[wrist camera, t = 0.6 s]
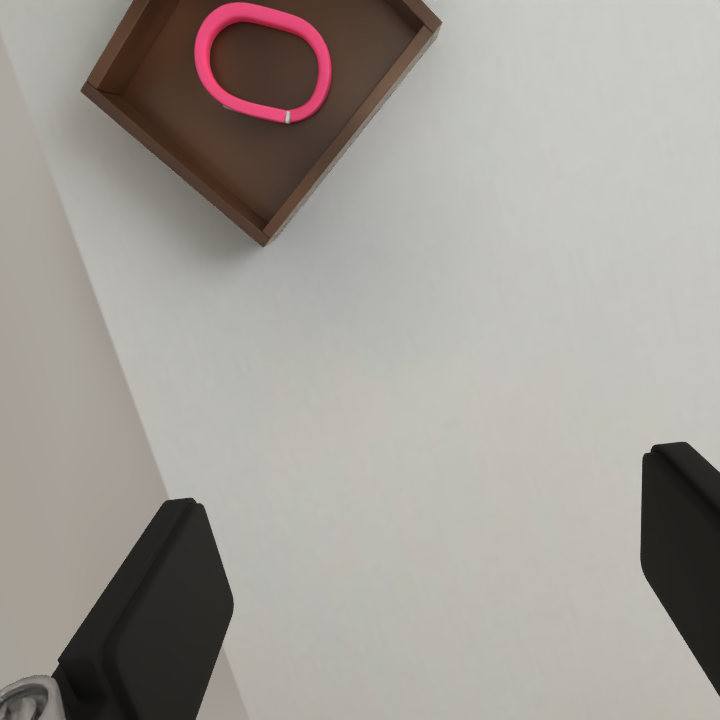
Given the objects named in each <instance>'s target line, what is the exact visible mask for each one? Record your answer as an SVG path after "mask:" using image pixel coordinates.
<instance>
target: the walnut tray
mask: <svg viewBox="0 0 720 720" xmlns="http://www.w3.org/2000/svg"><path fill="white" fill-rule="evenodd" d="M235 2H245V3H250V4H255V5H259V6H263V7H268V8H271V9H275V10H278V11H282V12H285V13H288V14H291V15H294V16H297V17H300V18H302V19H304V20H305V21H307V22H308V23H310V24H311V25H312V26H313V27H314V28H315V29H316V30H317V31H318V32H319V34H320V35H321V36H322V38H323V40H324V41H325V43H326V45H327V47H328V50H329V53H330V57H331V64H332V77H331V84H330V88H329V92H328V94H327V97H326V99H325V101H324V103H323V105H322V106H321V108H320V109H319V110H318V111H317V112H316V113H315V114H314V115H312V116H311V117H309V118H308V119H306V120H303V121H300V122H295V123H290V124H285V123H276V122H270V121H266V120H261V119H258V118H254V117H251V116H248V115H245V114H242V113H238V112H235V111H232V110H229V109H226V108H224V107H223V104H221V103H220V102H218V101H217V100H216V99H215V98H214V97H213V96H211V94H210V93H209V92H208V91H207V90H206V89H205V87H204V86H203V84H202V82H201V80H200V78H199V75H198V73H197V69H196V65H195V58H194V46H195V40H196V36H197V33H198V31H199V28H200V26H201V24H202V23H203V21H204V20H205V18H206V17H207V16H208V15H209V14H210V13H211V12H212V11H214V10H215V9H217V8H218V7H220V6H222V5H225V4H229V3H235ZM441 24H442V21H441V20H440V19H439V18H438V17H437V16H436V15H435V14H434V13H433V12H432V11H431V10H430V9H429V8H428V7H427V6H426V5H425V3H424V2H423V1H422V0H133V2H132V4H131V6H130V7H129V9H128V11H127V12H126V14H125V16H124V18H123V19H122V21H121V23H120V24H119V26H118V28H117V29H116V31H115V33H114V35H113V36H112V38H111V40H110V41H109V43H108V45H107V46H106V48H105V50H104V52H103V53H102V55H101V57H100V58H99V60H98V62H97V63H96V65H95V67H94V69H93V70H92V72H91V74H90V75H89V77H88V79H87V81H86V82H85V84H84V86H83V87H82V89H81V92H82V93H83V94H84V95H85V96H87V97H88V98H89V99H90V100H91V101H92V102H94V103H95V104H96V105H97V106H98V107H99V108H101V109H102V110H103V111H104V112H105V113H106V114H108V115H109V116H110V117H111V118H112V119H113V120H115V121H116V122H117V123H118V124H119V125H121V126H122V127H123V128H124V129H125V130H126V131H128V132H129V133H130V134H131V135H132V136H133V137H135V138H136V139H137V140H138V141H139V142H140V143H142V144H143V145H144V146H145V147H146V148H147V149H149V150H150V151H151V152H152V153H153V154H154V155H156V156H157V157H158V158H159V159H160V160H161V161H163V162H164V163H165V164H166V165H167V166H169V167H170V168H171V169H172V170H173V171H174V172H176V173H177V174H178V175H179V176H180V177H181V178H183V179H184V180H185V181H186V182H187V183H188V184H190V185H191V186H192V187H193V188H194V189H195V190H197V191H198V192H199V193H200V194H201V195H202V196H204V197H205V198H206V199H207V200H208V201H210V202H211V203H212V204H213V205H214V206H215V207H217V208H218V209H219V210H220V211H221V212H222V213H224V214H225V215H226V216H227V217H228V218H229V219H231V220H232V221H233V222H234V223H235V224H236V225H238V226H239V227H240V228H241V229H242V230H243V231H245V232H246V233H247V234H248V235H249V236H250V237H252V238H253V239H254V240H255V241H256V242H258V243H259V244H260V245H261V246H262V247H265V246H266V245H268V244H269V243H271V242H273V241H274V240H275V239H276V238H277V237H278V235H279V234H280V233H281V232H282V230H283V229H284V228H285V227H286V225H287V224H288V223H289V222H290V220H291V219H292V218H293V217H294V215H295V214H296V213H297V212H298V210H299V209H300V208H301V207H302V205H303V204H304V203H305V202H306V200H307V199H308V198H309V197H310V195H311V194H312V193H313V192H314V190H315V189H316V188H317V187H318V185H319V184H320V183H321V182H322V180H323V179H324V178H325V177H326V175H327V174H328V173H329V172H330V170H331V169H332V168H333V167H334V165H335V164H336V163H337V162H338V160H339V159H340V158H341V157H342V155H343V154H344V153H345V152H346V150H347V149H348V148H349V147H350V145H351V144H352V143H353V142H354V140H355V139H356V138H357V137H358V135H359V134H360V133H361V132H362V130H363V129H364V128H365V127H366V125H367V124H368V123H369V122H370V120H371V119H372V118H373V117H374V115H375V114H376V113H377V112H378V110H379V109H380V108H381V107H382V105H383V104H384V103H385V102H386V100H387V99H388V98H389V97H390V95H391V94H392V93H393V92H394V90H395V89H396V88H397V87H398V85H399V84H400V83H401V82H402V80H403V79H404V78H405V77H406V75H407V74H408V73H409V72H410V70H411V69H412V68H413V67H414V65H415V64H416V63H417V62H418V60H419V59H420V58H421V57H422V55H423V54H424V53H425V52H426V50H427V49H428V48H429V47H430V45H431V44H432V43H433V42H434V40H435V39H436V38H437V35H438V33H439V30H440V27H441ZM210 68H211V71H212V74H213V77H214V79H215V80H216V82H217V83H218V84H219V86H220V87H221V88H222V89H223V90H225V91H226V92H227V93H229V94H231V95H232V96H234V97H236V98H239V99H241V100H244V101H247V102H251V103H255V104H259V105H264V106H268V107H273V108H277V109H282V110H293V109H296V108H299V107H301V106H303V105H304V104H306V103H307V102H308V101H309V100H310V98H311V97H312V95H313V93H314V91H315V88H316V84H317V80H318V73H319V69H318V61H317V57H316V55H315V53H314V51H313V49H312V48H311V46H310V45H309V44H308V43H307V42H306V41H305V40H304V39H303V38H301V37H300V36H298V35H295V34H293V33H289V32H286V31H282V30H279V29H275V28H271V27H267V26H263V25H260V24H256V23H251V22H237V23H233V24H231V25H229V26H227V27H225V28H224V29H223V30H221V31H220V32H219V33H218V35H217V36H216V38H215V39H214V41H213V43H212V46H211V50H210Z"/></svg>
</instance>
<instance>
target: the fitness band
mask: <svg viewBox="0 0 720 720" xmlns="http://www.w3.org/2000/svg"><path fill="white" fill-rule="evenodd" d="M237 22H251V23H256V24H260V25H263V26H267V27H271V28H275V29H279V30H282V31H286V32H289V33H293V34H295V35H298V36H300V37H301V38H303V39H304V40H305V41H306V42H307V43H308V44H309V45H310V46H311V48H312V49H313V51H314V53H315V55H316V57H317V61H318V69H319V73H318V80H317V84H316V88H315V91H314V93H313V95H312V97H311V98H310V100H309V101H308V102H307V103H306V104H304V105H303V106H301V107H299V108H296V109H293V110H282V109H277V108H273V107H268V106H264V105H259V104H255V103H251V102H247V101H244V100H241V99H239V98H236V97H234V96H232V95H231V94H229V93H227V92H226V91H225V90H223V89H222V88H221V87H220V86H219V84H218V83H217V82H216V80H215V79H214V77H213V74H212V71H211V68H210V50H211V46H212V43H213V41H214V39H215V38H216V36H217V35H218V33H219V32H220V31H221V30H223V29H224V28H225V27H227V26H229V25H231V24H233V23H237ZM194 58H195V65H196V69H197V73H198V75H199V78H200V80H201V82H202V84H203V86H204V87H205V89H206V90H207V91H208V92H209V93H210V94H211V96H213V97H214V98H215V99H216V100H217V101H218V102H220V103H221V104H223V107H224V108H226V109H229V110H232V111H235V112H238V113H242V114H245V115H248V116H251V117H254V118H258V119H261V120H266V121H270V122H276V123H285V124H290V123H295V122H300V121H303V120H306V119H308V118H309V117H311V116H312V115H314V114H315V113H316V112H317V111H318V110H319V109H320V108H321V106H322V105H323V103H324V101H325V99H326V97H327V94H328V92H329V88H330V84H331V77H332V64H331V57H330V53H329V50H328V47H327V45H326V43H325V41H324V40H323V38H322V36H321V35H320V34H319V32H318V31H317V30H316V29H315V28H314V27H313V26H312V25H311V24H310V23H308V22H307V21H305V20H304V19H302V18H300V17H297V16H294V15H291V14H288V13H285V12H282V11H278V10H275V9H271V8H268V7H263V6H259V5H255V4H250V3H245V2H235V3H229V4H225V5H222V6H220V7H218V8H217V9H215V10H214V11H212V12H211V13H210V14H209V15H208V16H207V17H206V18H205V20H204V21H203V23H202V24H201V26H200V28H199V31H198V33H197V36H196V40H195V46H194Z"/></svg>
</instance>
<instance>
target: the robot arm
mask: <svg viewBox="0 0 720 720" xmlns="http://www.w3.org/2000/svg"><path fill="white" fill-rule="evenodd" d="M640 560H641V566H642V570H643V573H644V575H645V577H646V579H647V581H648V582H649V584H650V586H651V587H652V589H653V590H654V592H655V594H656V595H657V597H658V598H659V600H660V602H661V603H662V605H663V606H664V608H665V610H666V611H667V613H668V614H669V616H670V618H671V619H672V621H673V622H674V624H675V626H676V627H677V629H678V631H679V632H680V634H681V635H682V637H683V639H684V640H685V642H686V643H687V645H688V647H689V648H690V650H691V651H692V653H693V655H694V656H695V658H696V659H697V661H698V663H699V664H700V666H701V667H702V669H703V671H704V672H705V674H706V675H707V677H708V679H709V680H710V682H711V683H712V685H713V687H714V688H715V690H716V691H717V693H718V695H719V696H720V472H719V471H718V470H716V469H715V468H714V467H713V466H712V465H711V464H710V463H709V462H708V461H707V460H706V459H705V458H703V457H702V456H701V455H700V454H699V453H698V452H697V451H696V450H695V449H694V448H693V447H692V446H690V445H689V444H688V443H686V442H676V443H667V444H658V445H654V446H653V447H652V449H651V453H645V454H644V456H643V461H642V506H641V553H640ZM233 608H234V602H233V596H232V592H231V589H230V586H229V583H228V580H227V577H226V574H225V570H224V567H223V564H222V561H221V558H220V555H219V552H218V548H217V545H216V542H215V539H214V536H213V533H212V530H211V527H210V523H209V520H208V517H207V514H206V511H205V508H204V506H203V505H202V504H200V503H198V504H197V503H196V501H195V500H194V499H193V498H183V499H175V500H167V501H165V502H164V503H163V504H162V506H161V507H160V509H159V510H158V512H157V513H156V515H155V516H154V518H153V519H152V520H151V522H150V523H149V525H148V526H147V528H146V529H145V531H144V533H143V534H142V535H141V537H140V538H139V540H138V541H137V543H136V544H135V546H134V547H133V549H132V550H131V552H130V553H129V555H128V556H127V558H126V559H125V561H124V562H123V564H122V565H121V567H120V568H119V569H118V571H117V573H116V574H115V575H114V577H113V579H112V580H111V581H110V583H109V584H108V586H107V587H106V589H105V590H104V592H103V593H102V595H101V596H100V598H99V599H98V601H97V602H96V604H95V605H94V607H93V608H92V610H91V611H90V613H89V614H88V616H87V617H86V618H85V620H84V621H83V623H82V624H81V626H80V628H79V629H78V630H77V632H76V633H75V635H74V636H73V638H72V639H71V641H70V642H69V644H68V645H67V647H66V648H65V650H64V651H63V653H62V654H61V656H60V657H59V659H58V662H59V665H58V667H57V668H56V670H55V671H54V673H53V674H52V676H51V677H49V676H47V675H34V676H30V677H26V678H23V679H20V680H18V681H16V682H14V683H12V684H10V685H7V686H6V687H4V688H3V689H1V690H0V720H196V717H197V714H198V711H199V708H200V705H201V702H202V700H203V696H204V694H205V691H206V688H207V686H208V682H209V680H210V677H211V674H212V671H213V668H214V665H215V663H216V660H217V657H218V654H219V651H220V649H221V646H222V643H223V640H224V637H225V634H226V631H227V629H228V626H229V623H230V620H231V617H232V614H233Z"/></svg>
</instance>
